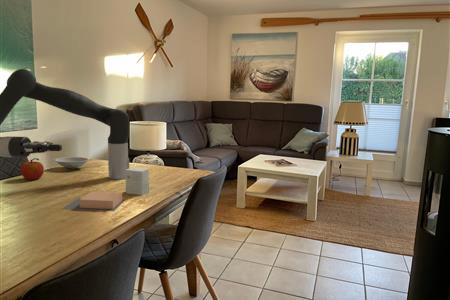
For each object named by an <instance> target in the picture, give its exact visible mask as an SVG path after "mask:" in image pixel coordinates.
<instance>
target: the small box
mask: <svg viewBox="0 0 450 300" xmlns="http://www.w3.org/2000/svg"><path fill="white" fill-rule="evenodd" d="M125 193H126V194H130V195H132V194H133V195H138V196H144V195H148V194H150V169H149V168H144V167H129V169H126V170H125Z"/></svg>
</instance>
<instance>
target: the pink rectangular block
mask: <svg viewBox="0 0 450 300" xmlns="http://www.w3.org/2000/svg"><path fill="white" fill-rule="evenodd" d="M80 198H81V199H79V205H80V208H98V209H114V208H115V207H116V206H117V205H118V204H119V203H120V202H121V201H122V200H123V193H122V192H110V191H107V192H106V191H104V192H103V191H90V192H88V193H87V194H85V195H84V196H83V197H80Z"/></svg>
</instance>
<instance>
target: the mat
mask: <svg viewBox="0 0 450 300" xmlns="http://www.w3.org/2000/svg"><path fill="white" fill-rule="evenodd" d="M81 198H82V197H78V198H76V199H75V200H73V201H72V202H70V203H68V204H67V205H65V206H64V207H62V208H61V209H62V210H80V211H81V210H82V211H101V212H103V211H105V212H115V211H116V210H117V209H118V208H119V207H120V206H121V205H122V204H124V202H125V201H126V199H122V201H121V202H120V203H119V204H118V205H117V206H116V207H115V208H114V209H98V208H80V205H79V199H81Z"/></svg>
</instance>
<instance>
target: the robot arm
mask: <svg viewBox="0 0 450 300" xmlns="http://www.w3.org/2000/svg"><path fill="white" fill-rule="evenodd" d="M23 97H24V98H28V99H31V100H35V101H38V102H42V103H45V104H47V105H49V106H51V107H55V108H56V109H60V110H62V111H65V112H68V113H70V114H73V115H77V116H79V117H84V118H89V119H92V120H95V121H98V122H101V123H102V124H104V125H106V126H108V127H109V131H110V132H109V135H108V137H107V155H108V156H107V157H108V158H107V161H108V162H107V164H108V166H107V167H108V172H107V173H108V179H111V180H126V178H125V170H126V169H129V168H130V158H129V149H128V147H129V143H128V142H129V141H128V140H129V136H130V116H129V114H128V113H127V112H126V111H124V110H123V109H118V108H117V109H116V108H112V107H111V108H110V107H107V106H104V105H101V104H99V103H97V102H95V101H94V100H92V99H90V98H88V97H87V96H86V95H83V94H81V93H78V92H75V91H73V90H70V89H66V88H60V87H54V86H48V85H45V84H43V83H40V82H37V77H36V76H35V74H34V73H33V72H32V71H30V70H29V69H25V68H19V69H16V70H15V71H12V73H11V74H10V75H9V76H8V78H7V80H6V86H5V87H4V88H3V90H2V92H1V93H0V126H1V125H2V123H4V121H5V119H6V118H7V117H8V116H9V114H10V113H11V112H12V110H13V108H14V107H15V106H16V105H17V104H18V102H20V100H21V99H23ZM62 150H63V146H62V144H58V143H57V144H54V142H50V141H45V140H44V141H38V140H34V141H31V139H30V138H29V137H28V136H9V135H8V136H0V157H5V158H28V157H29V156H30V155H31V154H43V153H46V152H47V153H49V152H61V151H62Z"/></svg>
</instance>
